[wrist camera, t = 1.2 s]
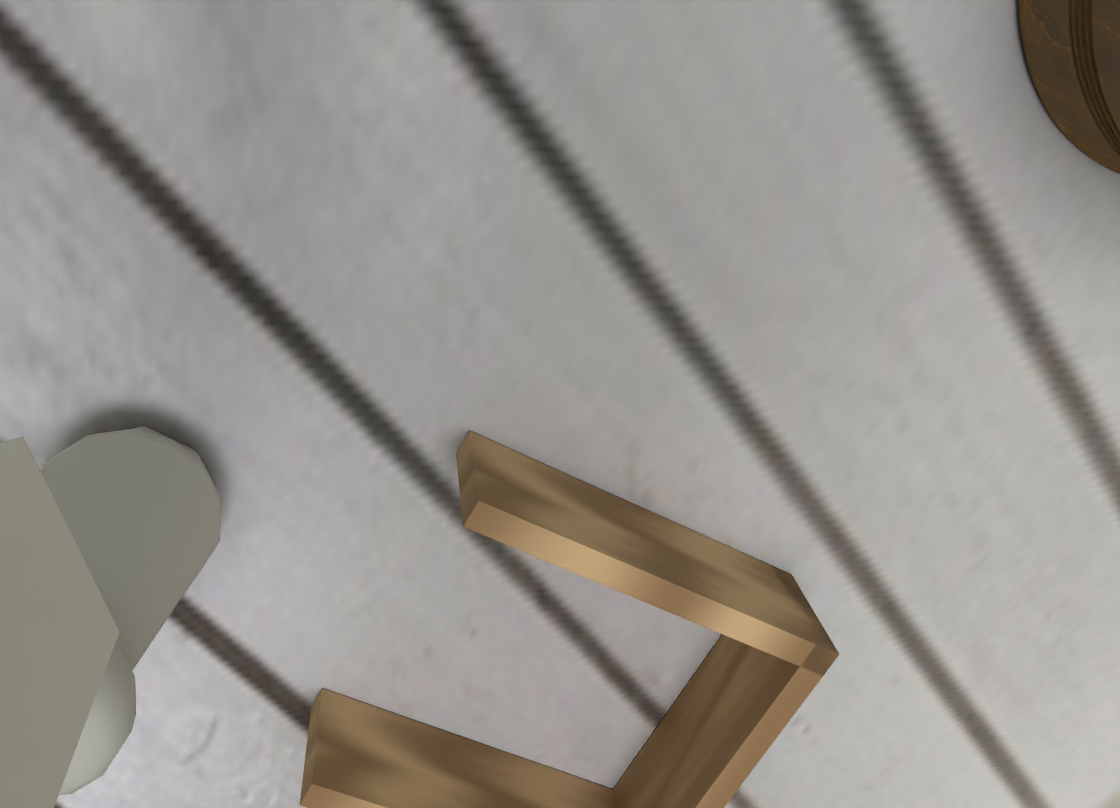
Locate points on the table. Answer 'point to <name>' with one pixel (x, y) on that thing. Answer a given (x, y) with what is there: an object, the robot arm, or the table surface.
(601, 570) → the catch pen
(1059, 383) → the table surface
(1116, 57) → the wooden container
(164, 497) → the salt shaker
